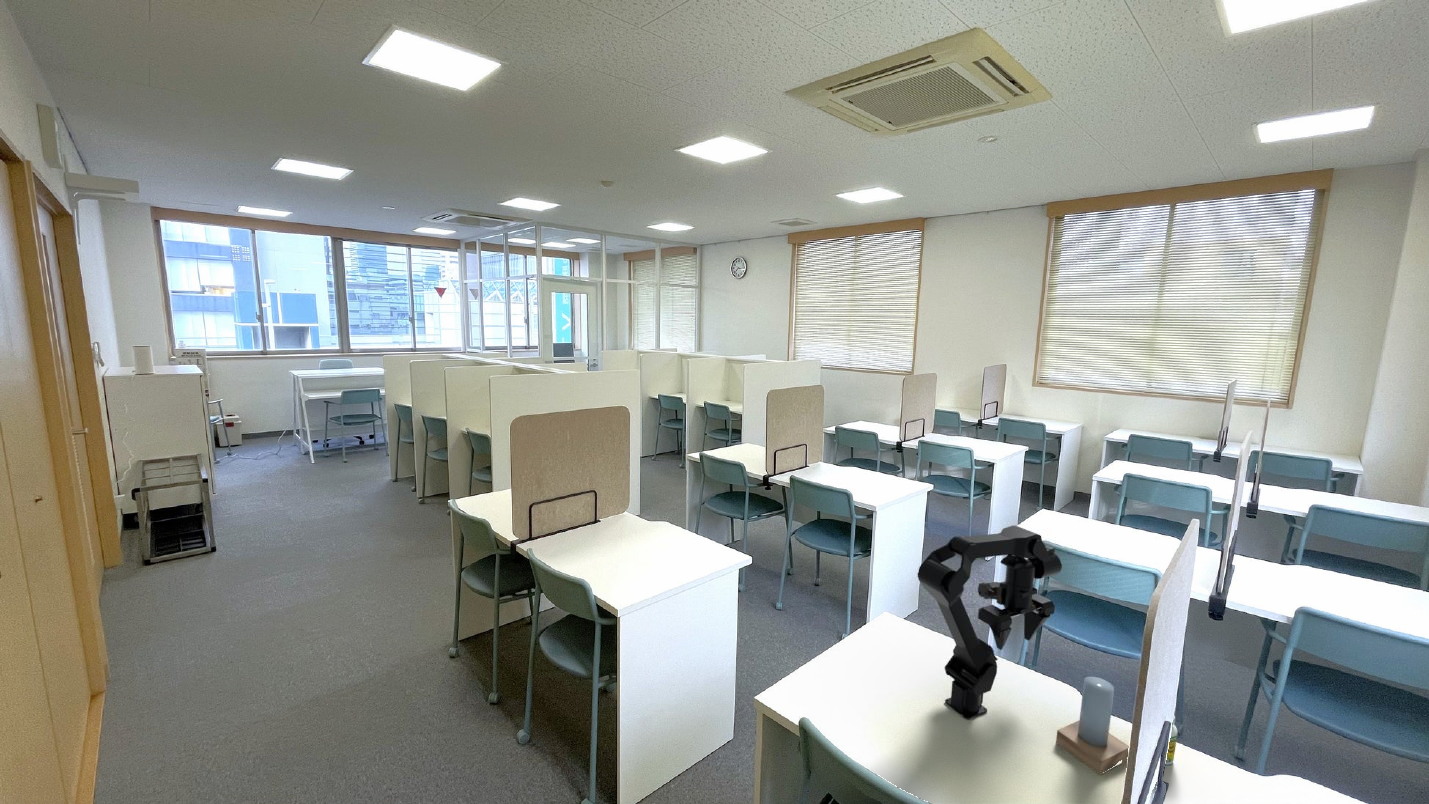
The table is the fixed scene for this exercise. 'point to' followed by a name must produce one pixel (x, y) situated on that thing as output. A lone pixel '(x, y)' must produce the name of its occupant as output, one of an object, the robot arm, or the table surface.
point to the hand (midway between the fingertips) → (1013, 644)
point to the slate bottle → (1095, 711)
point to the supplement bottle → (1172, 744)
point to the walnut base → (1092, 749)
